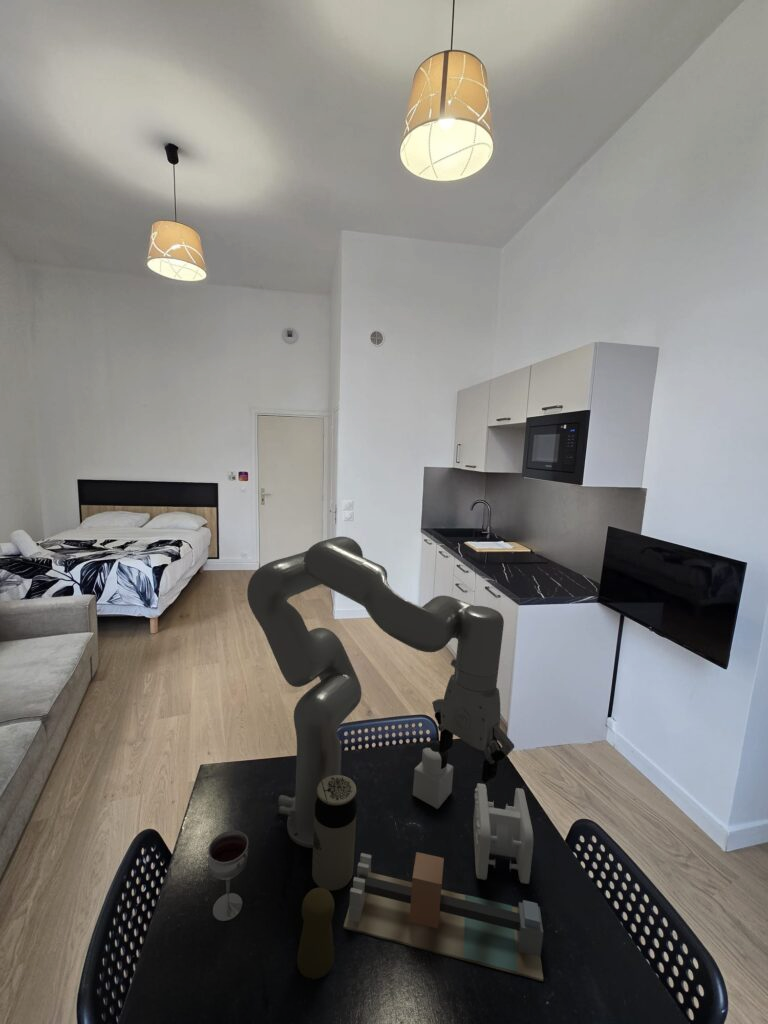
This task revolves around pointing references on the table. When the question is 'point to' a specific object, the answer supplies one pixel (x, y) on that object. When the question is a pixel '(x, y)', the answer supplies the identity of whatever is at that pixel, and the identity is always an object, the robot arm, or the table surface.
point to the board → (447, 933)
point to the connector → (530, 928)
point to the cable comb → (359, 888)
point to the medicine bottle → (433, 776)
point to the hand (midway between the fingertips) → (465, 763)
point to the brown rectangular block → (426, 890)
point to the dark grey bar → (446, 904)
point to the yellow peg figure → (316, 934)
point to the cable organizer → (502, 833)
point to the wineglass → (228, 869)
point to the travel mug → (334, 832)
